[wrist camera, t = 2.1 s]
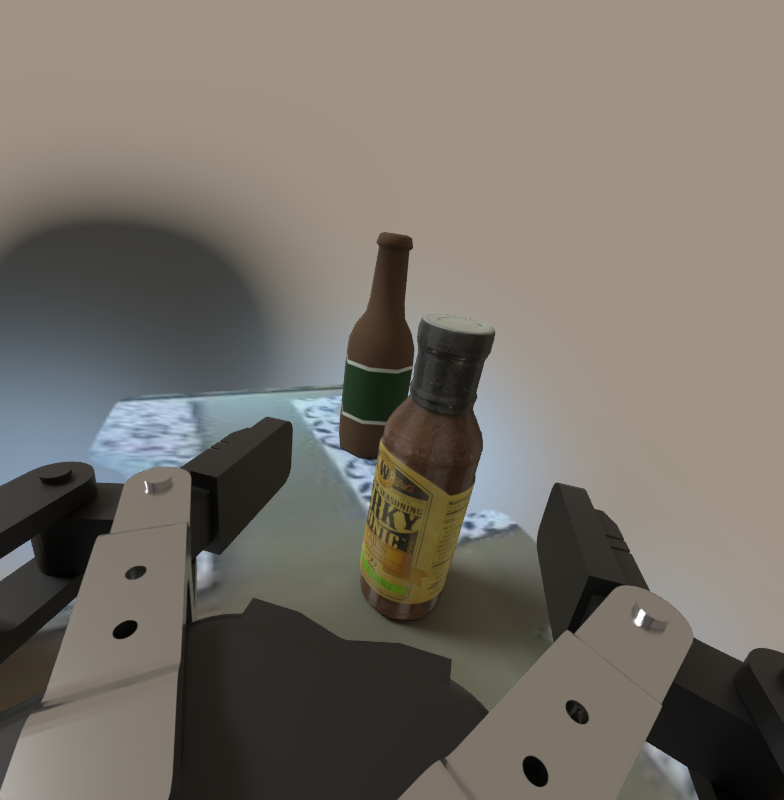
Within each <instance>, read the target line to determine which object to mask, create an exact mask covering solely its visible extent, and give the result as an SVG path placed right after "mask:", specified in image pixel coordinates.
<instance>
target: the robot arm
mask: <svg viewBox="0 0 784 800" xmlns="http://www.w3.org/2000/svg"><path fill="white" fill-rule="evenodd" d="M292 433H293V428H292V424H291V422H289V421H285V420H280V419H276V418H271V417H265V418H264V419H262V420H261V421H260V422H258V423H257V424H255V425H254V426H252V427H251V428H245V429H242V430H239V431H236V432H233V433H231V434H230V435H228V436H227V437H225V438H224V439H222V440H221V441H220V442H218V443H216V444H215V445H213V446H212V447H211V449H207V450H206V451H204V452H203V453H201V454H200V455H198V456H197V457H195V458H194V459H192V460H191V461H189V462H188V463H187V464H185V465H184V466H182V467H181V468H177V467H158V468H152V469H148V470H145V471H142V472H140V473H138V474H136V475H134V476H132V477H131V478H130V479H128V480H127V481H126V483H125V484H119V483H118V484H117V483H96V479H95V473H94V469H93V467H92V466H91V465H88V464H86V463H82V462H61V463H55V464H50V465H46V466H43V467H40V468H37V469H35V470H32V471H30V472H28V473H26V474H24V475H22V476H20V477H18V478H16V479H14V480H12V481H10V482H8V483H6V484H4V485H2V486H0V559H1V558H2V557H4V556H5V555H7V554H8V553H10V552H12V551H13V550H15V549H16V548H18V547H19V546H21V545H22V544H24V543H25V542H27V541H28V540H30V539H31V543H32V547H33V551H34V554H35V557H34V558H33V559H32V560H30V561H29V562H27V563H26V564H24V565H23V566H22V567H20V568H19V569H17V570H16V571H15V572H13V573H12V574H10V575H9V576H7V577H6V578H4V579H3V580H2V581H0V664H1V663H2V662H3V661H4V660H6V659H7V658H8V657H9V656H10V655H11V654H12V653H13V652H15V651H16V650H17V649H18V648H19V647H20V646H21V645H23V644H24V643H25V642H26V641H27V640H28V639H29V638H30V637H32V636H33V635H34V634H35V633H36V632H37V631H38V630H40V629H41V628H42V627H43V626H44V625H45V624H46V623H47V622H49V621H50V620H51V619H52V618H53V617H54V616H55V615H57V614H58V613H59V612H60V611H61V610H62V609H63V608H64V607H66V606H67V605H68V604H69V603H70V602H71V601H72V600H74V599H75V598H76V597H77V599H76V602H75V605H74V608H73V611H72V614H71V617H70V620H69V623H68V626H67V629H66V632H65V635H64V638H63V641H62V644H61V647H60V650H59V653H58V656H57V659H56V662H55V665H54V668H53V671H52V674H51V677H50V681H49V684H48V687H47V690H46V691H45V692H43V693H41V694H39V695H37V696H35V697H33V698H30V699H28V700H26V701H24V702H22V703H20V704H18V705H16V706H14V707H12V708H9V709H7V710H5V711H3V712H1V713H0V800H616V798H617V796H618V794H619V792H620V790H621V788H622V786H623V784H624V782H625V780H626V778H627V776H628V774H629V772H630V770H631V768H632V766H633V764H634V762H635V760H636V758H637V756H638V754H639V752H640V750H641V748H642V746H643V744H644V742H645V741H647V742H648V743H650V744H651V745H653V746H655V747H656V748H658V749H659V750H661V751H663V752H664V753H666V754H667V755H669V756H671V757H672V758H674V759H675V760H677V761H679V762H680V763H682V764H684V765H685V766H687V767H688V770H689V773H690V776H691V778H692V781H693V784H694V787H695V790H696V793H697V795H698V798H699V800H784V653H781V652H778V651H775V650H771V649H766V648H757V649H754V650H752V651H751V652H750V653H749V654H748V656H747V658H746V659H745V660H744V662H742V661H739V660H737V659H736V658H733V657H731V656H729V655H727V654H725V653H723V652H721V651H719V650H717V649H715V648H713V647H711V646H709V645H707V644H705V643H703V642H701V641H699V640H697V639H696V638H694V637H693V632H692V629H691V627H690V625H689V623H688V622H687V620H686V619H685V618H684V617H683V615H682V614H681V613H680V612H679V611H678V610H677V609H676V608H675V607H673V606H672V605H671V604H670V603H669V602H667V601H666V600H664V599H663V598H661V597H659V596H658V595H656V594H654V593H652V592H650V590H649V588H648V586H647V584H646V582H645V580H644V578H643V576H642V574H641V572H640V570H639V568H638V566H637V564H636V562H635V560H634V558H633V556H632V554H630V550H629V548H628V546H627V544H626V542H624V538H623V536H622V534H621V532H620V530H619V528H618V526H617V525H616V524H615V523H614V522H613V521H612V520H611V519H610V518H609V517H608V516H607V515H606V514H605V513H604V512H603V511H600V510H596V509H594V507H593V505H592V503H591V501H590V498H589V496H588V494H587V492H586V490H585V489H583V488H579V487H574V486H570V485H565V484H561V483H555V484H554V486H553V488H552V490H551V493H550V496H549V499H548V502H547V505H546V508H545V512H544V514H543V518H542V521H541V524H540V527H539V530H538V537H537V552H538V557H539V563H540V568H541V574H542V579H543V585H544V591H545V596H546V602H547V607H548V613H549V618H550V624H551V629H552V635H553V641H554V643H553V644H552V645H551V647H550V648H549V649H548V650H547V651H546V652H545V653H544V654H543V655H542V656H541V657H540V658H539V659H538V661H537V662H536V663H535V664H534V665H533V666H532V667H531V668H530V669H529V670H528V671H527V672H526V674H525V675H524V676H523V677H522V678H521V679H520V680H519V681H518V682H517V683H516V684H515V685H514V686H513V688H512V689H511V690H510V691H509V692H508V693H507V694H506V695H505V696H504V697H503V698H502V699H501V700H500V702H499V703H498V704H497V705H496V706H495V707H494V708H493V709H492V710H491V711H490V712H488V711H487V710H486V708H485V707H484V706H483V705H482V704H481V703H480V702H479V701H478V700H477V699H476V698H475V697H474V696H473V695H472V694H471V693H469V692H468V691H467V690H465V689H464V688H463V687H462V686H460V685H459V684H457V683H456V682H454V681H453V680H451V679H450V672H451V660H452V659H449V658H445V657H442V656H439V655H436V654H432V653H429V652H426V651H423V650H420V649H416V648H413V647H410V646H407V645H403V644H400V643H386V642H368V641H351V640H344V639H341V638H340V637H338V636H336V635H335V634H333V633H331V632H330V631H328V630H327V629H325V628H323V627H322V626H320V625H319V624H317V623H316V622H314V621H312V620H311V619H309V618H308V617H306V616H304V615H303V614H301V613H300V612H297V611H294V610H291V609H287V608H284V607H281V606H278V605H275V604H271V603H268V602H265V601H262V600H258V599H255V598H253V599H252V601H251V602H250V604H249V605H248V606H247V608H246V609H245V611H244V612H243V614H224V615H218V616H211V617H208V618H204V619H200V620H197V621H196V596H197V560H196V557H197V556H198V555H199V554H200V553H201V552H202V551H203V550H204V551H208V552H211V553H215V554H218V555H221V553H222V552H223V551H224V550H225V549H226V548H227V547H228V546H229V545H230V544H231V542H232V541H233V540H234V539H235V538H236V537H237V536H238V535H239V534H240V532H241V531H242V530H243V529H244V528H245V527H246V526H247V525H248V524H249V523H250V521H251V520H252V519H253V518H254V517H255V516H256V515H257V514H258V513H259V512H260V510H261V509H262V508H263V507H264V506H265V505H266V504H267V503H268V502H269V501H270V499H271V498H272V497H273V496H274V495H275V494H276V493H277V492H278V491H279V489H280V488H281V487H282V486H283V485H284V484H285V482H286V481H287V478H288V476H289V473H290V469H291V456H292Z"/></svg>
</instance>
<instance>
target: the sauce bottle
mask: <svg viewBox="0 0 784 800" xmlns="http://www.w3.org/2000/svg"><path fill="white" fill-rule="evenodd" d="M494 336H495V330H494V329H493V327H491V326H489V325H488V324H485V323H482V322H479V321H475V320H471V319H467V318H463V317H457V316H452V315H442V314H430V315H425V316H423V317H422V319H421V322H420V324H419V328H418V335H417V342H418V355H417V359H416V363H415V366H414V377H413V379H412V381H411V383H410V393H411V394H410V395H409V396H408V398H406V400H405V401H404V402H402V403H401V404H400V405H399V406H398V407H396V409H395V411H394V412H393V413H392V415H391V416H390V417H389V419H388V420H387V423H386V426H385V429H384V434H383V436H382V438H381V440H380V446H379V452H378V457H377V462H376V470H375V476H374V480H373V487H372V494H371V500H370V506H369V511H368V518H367V524H366V529H365V535H364V540H363V546H362V552H361V558H360V568H361V573H360V581H361V587H362V593H363V595H364V597H365V598H366V600H367V601H368V602H370V603H371V605H372V606H373V607H374V608H376V609H377V610H378V611H379V612H380V613H381V614H382V615H385V616H387V617H389V618H393V619H401V620H409V619H411V620H414V619H419V618H421V617H423V616H425V615H426V614H427V613H428V612H429V611H430V610H431V609H432V608H433V607H434V606H435V604H436V603H437V601H438V599H439V597H440V595H441V590H442V589H443V587H444V584H445V582H446V578H447V575H448V571H449V568H450V565H451V561H452V558H453V554H454V551H455V547H456V544H457V540H458V537H459V534H460V530H461V527H462V523H463V520H464V517H465V513H466V510H467V507H468V503H469V500H470V496H471V493H472V489H473V486H474V483H475V473H476V469H477V466H478V463H479V460H480V456H481V452H482V450H483V439H482V433H481V431H480V428H479V425H478V423H477V419H476V417H475V415H474V412H473V406H474V403H475V401H476V399H477V394H476V392H477V388H478V384H479V380H480V377H481V373H482V369H483V364H484V362H485V360H486V358H487V357H488V355H489V354H490V352H491V348H492V344H493V341H494Z"/></svg>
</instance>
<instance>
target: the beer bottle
mask: <svg viewBox="0 0 784 800" xmlns="http://www.w3.org/2000/svg"><path fill="white" fill-rule="evenodd" d="M377 244H378V245H379V250H378V256H377V262H376V268H375V273H374V279H373V284H372V290H371V295H370V299H369V303H368V306H367V310H366V312H365V313H364V314H363V316H362V317H361V318H360V319H359V320H358V321H357V323H356V324H355V326H354V328H353V330H352V332H351V334H350V337H349V342H348V348H347V354H346V365H345V375H344V384H343V394H342V404H341V414H340V428H339V438H340V447H341V448H342V449H343V450H345V451H347V452H349V453H351V454H353V455H355V456H357V457H358V458H377V457H378V452H379V446H380V440H381V438H382V436H383V434H384V429H385V426H386V423H387V420H388V419H389V417H390V416H391V415H392V413H393V412H394V411H395V409H396V407H398V406H399V405H400V404H401V403H402V402H404V401H405V400H406V398H408V392H409V386H410V380H411V374H412V368H413V358H414V345H413V340H412V334H411V332H410V330H409V327H408V325H407V322H406V320H405V306H404V302H405V291H406V281H407V270H408V259H409V250H411V249H412V248H413V243H412V238H410V237H409V236H406V235H400V234H394V233H387V232H383V233H381V234H380V235H379V237H378V240H377Z"/></svg>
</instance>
